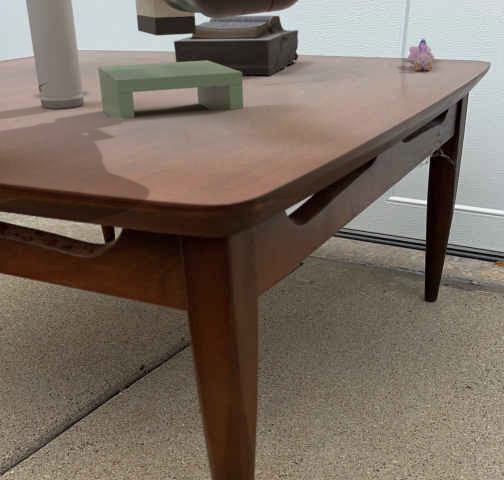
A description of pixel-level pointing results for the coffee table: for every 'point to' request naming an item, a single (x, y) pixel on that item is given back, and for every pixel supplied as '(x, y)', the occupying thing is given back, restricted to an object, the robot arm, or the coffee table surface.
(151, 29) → the beige dark-bottomed block
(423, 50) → the rabbit figure
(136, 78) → the shoe shelf
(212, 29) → the bible
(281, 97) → the coffee table surface
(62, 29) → the travel mug
